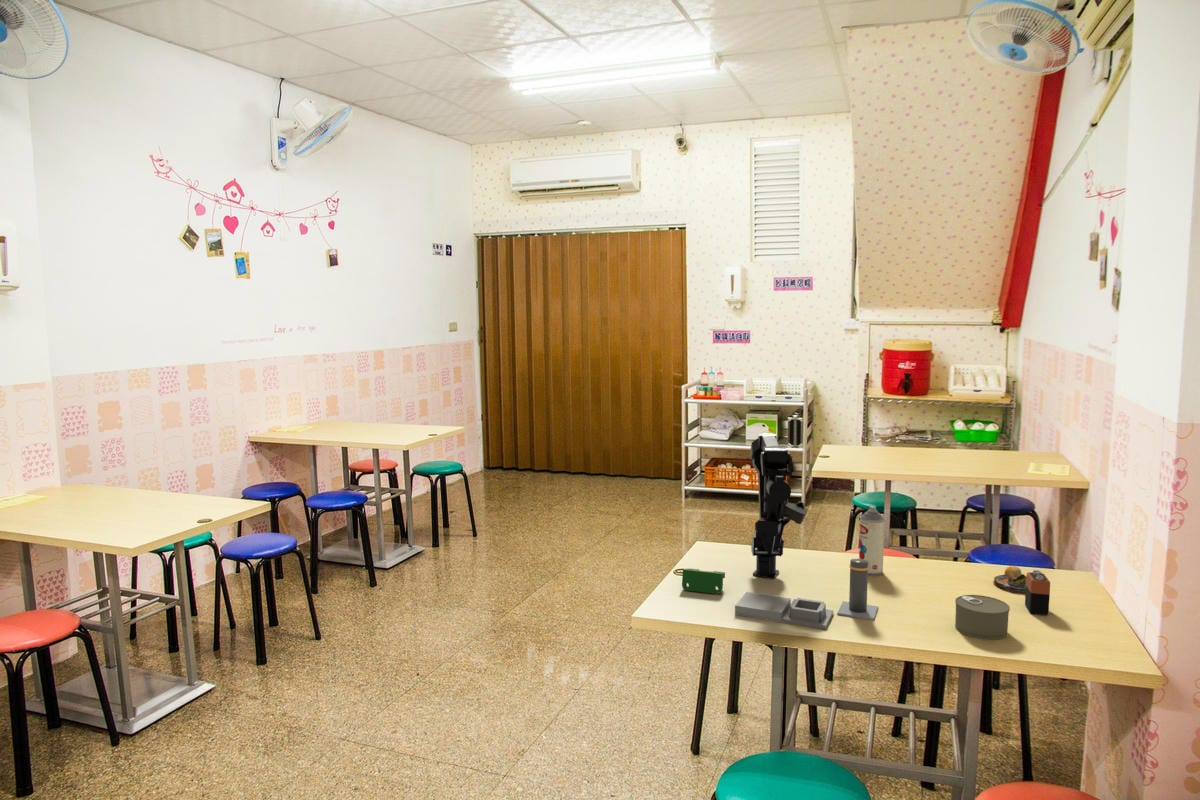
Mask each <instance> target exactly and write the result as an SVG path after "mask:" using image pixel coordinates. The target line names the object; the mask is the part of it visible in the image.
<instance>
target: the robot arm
mask: <svg viewBox="0 0 1200 800" xmlns="http://www.w3.org/2000/svg"><path fill="white" fill-rule="evenodd" d="M749 452H750V453H749V454H750V460H752V467H753V468H754V470H755V471H756V473H757V475H758V476H757V477H758V478H757V479H758V511H759V512H758V515H759V517H758V520H757V521H756V522H755V523H754V535H752V538H751V539H752V540H751V544H750V547H751V554H752V557H755V556H756V563H755V564H756V566H755V567H756V569H755V571H754V572H753V573H752V576H756V577H763V578H771V579H775V578H776V577H777V575H778V574H779V572H780V570H779V569H776V567H777V557H782V556H783V555H784V546H785V545H784V544H785V541H784V539H783V534H784V530H785V527H786V526H787V525H788V524H789V523H790V521H792V522H794V523H795V524H797V525H798V524H799V525H802V524H803V522H804V520H805V517H806V515H807V514H808V513H807V512H808V509H807V508H806V504H805V502H803V501H798V502H797V503H791V502H789V499H790V497H791V496H792V495H791V494H792V488H791V486H790V485H789V482H787V477H792V476H793V475H792V474H793V473H794V463H793V462H794V461H793V456H792V455H791V452H789V451H788V448H786V447H785V446H781V445H780V442H779V441H778V440H777V434H775V433H774V432H773V433H768V432H767V433H766V432H765V433H759V434H758V437H757V438H756V439H754V440H753V441H752V442H751V443H750V451H749Z"/></svg>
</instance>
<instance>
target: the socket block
mask: <svg viewBox="0 0 1200 800" xmlns="http://www.w3.org/2000/svg"><path fill="white" fill-rule="evenodd" d="M826 605H827V604H826V602H825V601H821V600H815V599H808V598H801V597H797V598H794V599H793V601H792V598H790V597H784V596H776V595H772V594H771V595H770V594H764V593H758V592H757V593H756V592H751V591H750V592H749V591H746V592H745V593H744V594H743V595H742V597H741V598H740V599H739V600H738V601H737V603H736V604H735V605H734V616H740V615H741V617H746V618H752V619H753V618H754V619H759V620H766V621H771V622H776V623H783V624H789V625H796V626H802V627H807V628H812V629H814V628H815V629H818V630H819V629H820V630H827V628H828V627H829V626H828V625H829V623H830V622H831V620H832V618H833V615H834V610H832V609H827V606H826Z"/></svg>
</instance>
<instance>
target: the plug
mask: <svg viewBox="0 0 1200 800" xmlns="http://www.w3.org/2000/svg"><path fill="white" fill-rule="evenodd" d="M868 569H869V566H868V561H867V560H864V559H859V558H852V559H850V562H849V591H848V593H849V594H848V599H849V601H848V602H849V610H850V611H853V612H857V613H864V612H866V611H867V605H868V582H869V581H868V580H869V575H868Z"/></svg>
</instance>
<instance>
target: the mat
mask: <svg viewBox="0 0 1200 800" xmlns="http://www.w3.org/2000/svg"><path fill="white" fill-rule="evenodd" d="M878 610H879V606H877V605H870V604H867V611H866V612H864V613H857V612H853V611H850V610H849V601H842V602H841V605H840V607H839V609H838V611H837V613H836V614H837V616H843V617H850V618H856V619H863V620H867V621H868V620H871V621H875V618H876V615H877V612H878Z"/></svg>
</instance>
